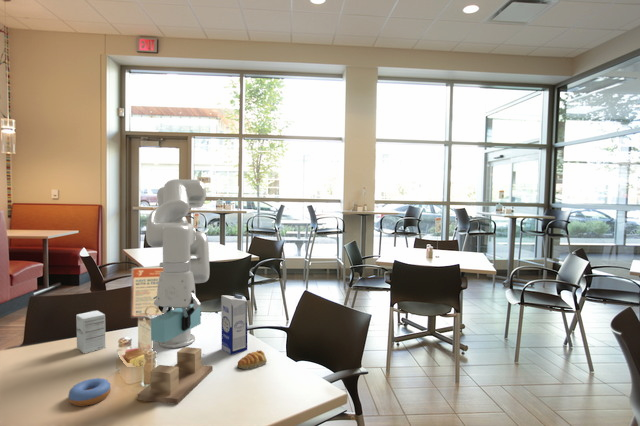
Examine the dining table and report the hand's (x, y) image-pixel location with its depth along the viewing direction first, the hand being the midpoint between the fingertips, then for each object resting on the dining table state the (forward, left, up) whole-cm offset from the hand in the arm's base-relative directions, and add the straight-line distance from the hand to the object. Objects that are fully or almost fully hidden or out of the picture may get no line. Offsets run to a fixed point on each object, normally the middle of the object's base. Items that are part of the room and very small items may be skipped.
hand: (177, 328), depth 111 cm
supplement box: (-45, +17, -17) cm, 51 cm away
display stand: (0, 0, -17) cm, 17 cm away
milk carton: (+6, +27, -17) cm, 33 cm away
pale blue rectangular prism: (0, 0, -1) cm, 1 cm away
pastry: (+17, +17, -17) cm, 30 cm away
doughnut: (-19, -12, -17) cm, 29 cm away
